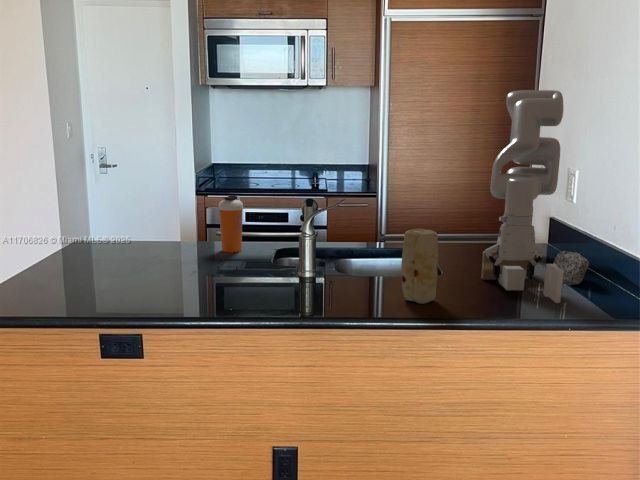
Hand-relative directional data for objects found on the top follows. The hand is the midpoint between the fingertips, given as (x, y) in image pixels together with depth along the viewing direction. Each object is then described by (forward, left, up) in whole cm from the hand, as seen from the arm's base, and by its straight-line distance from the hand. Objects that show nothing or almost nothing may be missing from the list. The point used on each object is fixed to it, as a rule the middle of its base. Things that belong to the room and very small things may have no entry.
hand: (512, 277), depth 172 cm
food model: (+13, -30, -3) cm, 33 cm away
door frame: (-2, +8, -3) cm, 9 cm away
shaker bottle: (-44, -89, -3) cm, 99 cm away
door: (-9, +1, -3) cm, 9 cm away
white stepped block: (-2, 0, -3) cm, 3 cm away
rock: (-8, +20, -3) cm, 22 cm away
